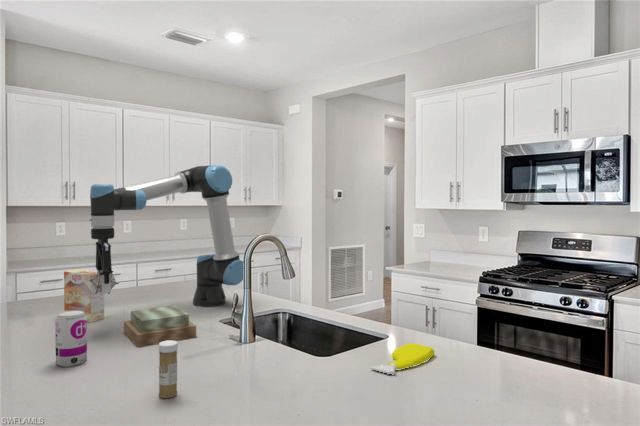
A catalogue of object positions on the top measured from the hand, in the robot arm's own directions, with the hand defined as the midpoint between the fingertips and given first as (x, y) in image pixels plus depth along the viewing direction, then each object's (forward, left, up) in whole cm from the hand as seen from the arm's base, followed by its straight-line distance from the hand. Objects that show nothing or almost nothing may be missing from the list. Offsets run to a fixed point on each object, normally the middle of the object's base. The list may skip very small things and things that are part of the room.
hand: (103, 290), depth 165 cm
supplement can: (+13, +24, -16) cm, 32 cm away
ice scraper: (-70, +80, -17) cm, 107 cm away
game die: (0, 0, -1) cm, 1 cm away
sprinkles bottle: (-4, +63, -16) cm, 65 cm away
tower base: (-17, +10, -16) cm, 25 cm away
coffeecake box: (+2, -29, -16) cm, 33 cm away
